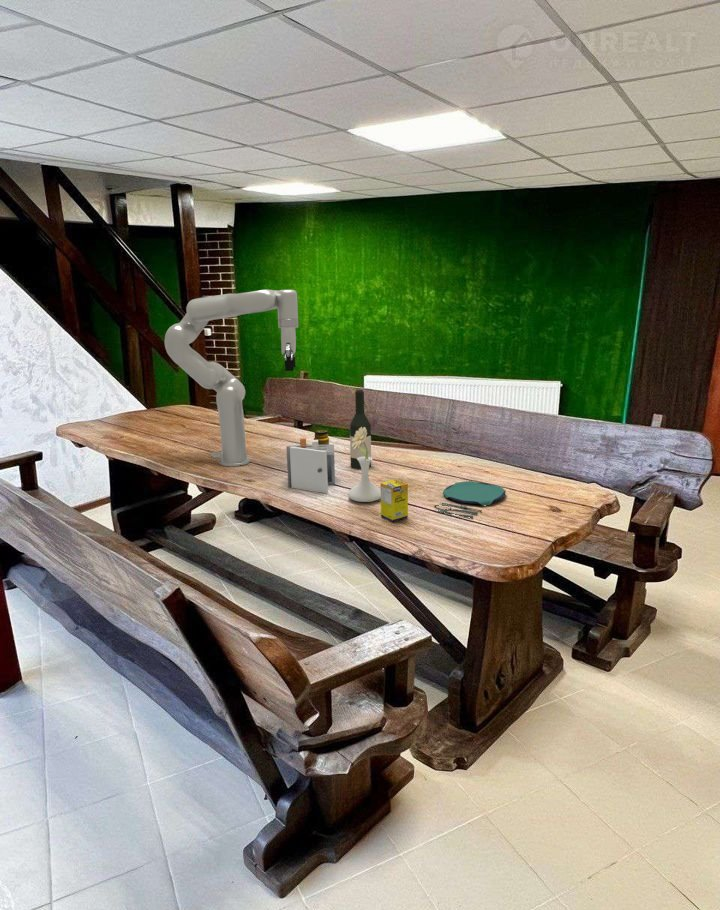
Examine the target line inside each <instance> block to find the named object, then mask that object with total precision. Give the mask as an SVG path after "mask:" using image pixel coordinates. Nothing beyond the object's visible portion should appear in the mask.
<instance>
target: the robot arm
mask: <svg viewBox="0 0 720 910" xmlns="http://www.w3.org/2000/svg"><path fill="white" fill-rule="evenodd" d="M298 306H299V304H298V292H297V291H296V290H294V289H280V290H274V289H260V290H253V291H247V292H240V293H225V294H218V295H212V296H205V297H198V298H194V299H191V300H190V301H189V302H188V303H187V305H186V307H185V309H186V313H185V315H184V316H183V317H182V319H181V320H180V322H177V323H174V324H173V325H171V326H170V327H169V328H168V329H167V331H166V332H165V334H164V335H165V336H164V348H165V351H166V353H167V355H168V356H169V357H170V359H171V360H172V361H173V362H174V363H175V364H176V365H177V366H178V367H180V368H181V369H182V370H183V371H184V372H185V373H186V374H187V375H188V376H189V377H191V378H192V379H193V380H194V381H195V382H197V384H199V386H200V387H202V388H204V389H207V390H210V389H212V390H214V391H215V392H216V396H215V397H216V398H215V400H216V406H217V407H216V408H217V411H218V413H217V414H218V423H219V434H220V435H219V436H220V445H221V451H219V452H211V453H210V455H211V456H210V457H211V458H213V459H219V460H218V465H220V466H223V467H239V466H240V465H241V466H244V465H247V464H250V463H251V460H252V459H251V457H250V456H248V455H247V442H246V429H245V427H246V426H245V416H244V407H243V400H244V399H245V396H246V389H245V386H244V385H243V383H242V382H241V381H240V380H239V379H238V378H237V377H235V376H234V375H233V374H232V373H231V372H230V371H229V370H227V369H226V368H225V367H224V366H223V365H222V364H220V363H218V362H216V361H207V359H205V358H204V357H203V356H202V355H201V354H200V353H198V352H197V351H196V350H195V349H193V348H192V347H191V346H190V344H192V343H194V342H195V340H196V339H197V338H198V337H199V335H201V334H200V333H201V332H202V331H203V330H204V328H205V327H206V326H207V325H208V323H209V321H214V320H220V319H229V318H235V317H237V316H242V315H247V314H249V315H250V314H256V313H262V312H267V311H271V310H276V309H277V321H278V322H277V324H278V329H280V342H281V355H284V370H285V372H293V371H294V370H295V368H296V357H295V353H296V346H297V342H296V341H297V336H296V335H297V333H296V329H297V328H299V311H298V310H299V309H298ZM249 462H250V463H249Z"/></svg>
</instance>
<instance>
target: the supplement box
mask: <svg viewBox="0 0 720 910" xmlns="http://www.w3.org/2000/svg"><path fill="white" fill-rule="evenodd" d="M380 490H381V498H380V517H381V516H382V517H381V518H383V517H384V518H383V519H385V518H386V519H385V520H387V519H388V521H389V520H390V522H392V521H395V522H398V521H397V520H399V521H401V520H400V519H402V520H404V519H403V518H406V519H408V518H409V510H408V508H409V484H408V483H406V482H404V481H401V480H398V479H395V478H394V479H391V480H386V481H383V482H380ZM407 517H408V518H407Z"/></svg>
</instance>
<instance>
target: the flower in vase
mask: <svg viewBox="0 0 720 910" xmlns="http://www.w3.org/2000/svg"><path fill="white" fill-rule="evenodd" d="M366 432H367V430H366V428H365V427H364V428H363V429H362V427H361V428H359V431H356V434H355V435H354V436H355V437H354V438H353V439H352V441H354V442H353V443H352V446H351V447H354V448H353V450H354V449H355V450H356V449H359V448H360V447H361V448H360V452H361V453H363V454H364V455H366V456H365V457H359V458H357V460H358V461H359V463H360V465H361V469H360V470H361V479H360V481H359V482H358V483H356V484H355V485H354V486H353V487H352V488H350V490H349V491H348V493H347V497H348V498H349V499H350V500H352V501H356V502H360V503H370V502H374V501H378V500H381V488H379V486H377V485H376V484H374V483H373V482H372V481H371V480H370V477H369V473H370V472H369V465H370V462H371V463H372V461H373V457H372V456H371V457H368V453H369V451H368V452H367V447H366V444H365V442H364V441H365V438H366V435H367V433H366ZM363 443H364V445H365V447H366V450H365V449H364V448H363V447H362V446H361V445H362V444H363Z"/></svg>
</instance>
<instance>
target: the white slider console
mask: <svg viewBox="0 0 720 910" xmlns="http://www.w3.org/2000/svg"><path fill="white" fill-rule="evenodd" d="M289 446H290V447H299V448H306V449H312V444H306V447H300V444H299V445H295V444H294V445H289ZM314 450H322V451H327V477H328V486H335V485H336V484H335V483H336V469H335V465H336V464H335V444H329V445H318V449H314Z"/></svg>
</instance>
